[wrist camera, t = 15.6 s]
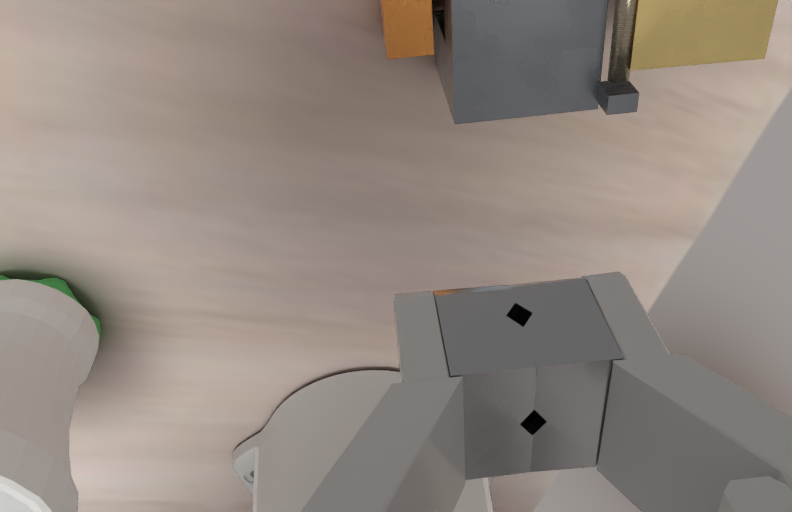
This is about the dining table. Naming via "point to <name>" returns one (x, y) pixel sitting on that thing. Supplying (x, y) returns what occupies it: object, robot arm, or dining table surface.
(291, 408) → the robot arm
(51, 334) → the cup
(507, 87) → the block
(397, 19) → the orange piece
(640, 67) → the keeper flap
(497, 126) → the dining table surface
